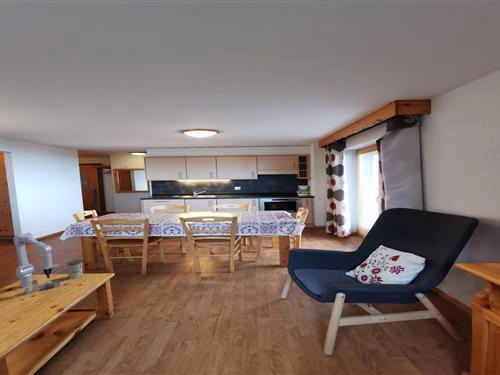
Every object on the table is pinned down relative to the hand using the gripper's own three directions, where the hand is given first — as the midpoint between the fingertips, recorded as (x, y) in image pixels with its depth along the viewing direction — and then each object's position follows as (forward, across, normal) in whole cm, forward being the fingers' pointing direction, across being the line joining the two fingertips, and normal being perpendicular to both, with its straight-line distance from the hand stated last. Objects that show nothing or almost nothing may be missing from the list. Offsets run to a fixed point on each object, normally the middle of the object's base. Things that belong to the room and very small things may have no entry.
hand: (48, 278), depth 194 cm
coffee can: (+9, +18, +13) cm, 24 cm away
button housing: (+8, 0, 0) cm, 8 cm away
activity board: (+9, -4, +4) cm, 11 cm away
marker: (+8, -8, +1) cm, 12 cm away
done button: (+5, 0, 0) cm, 5 cm away
